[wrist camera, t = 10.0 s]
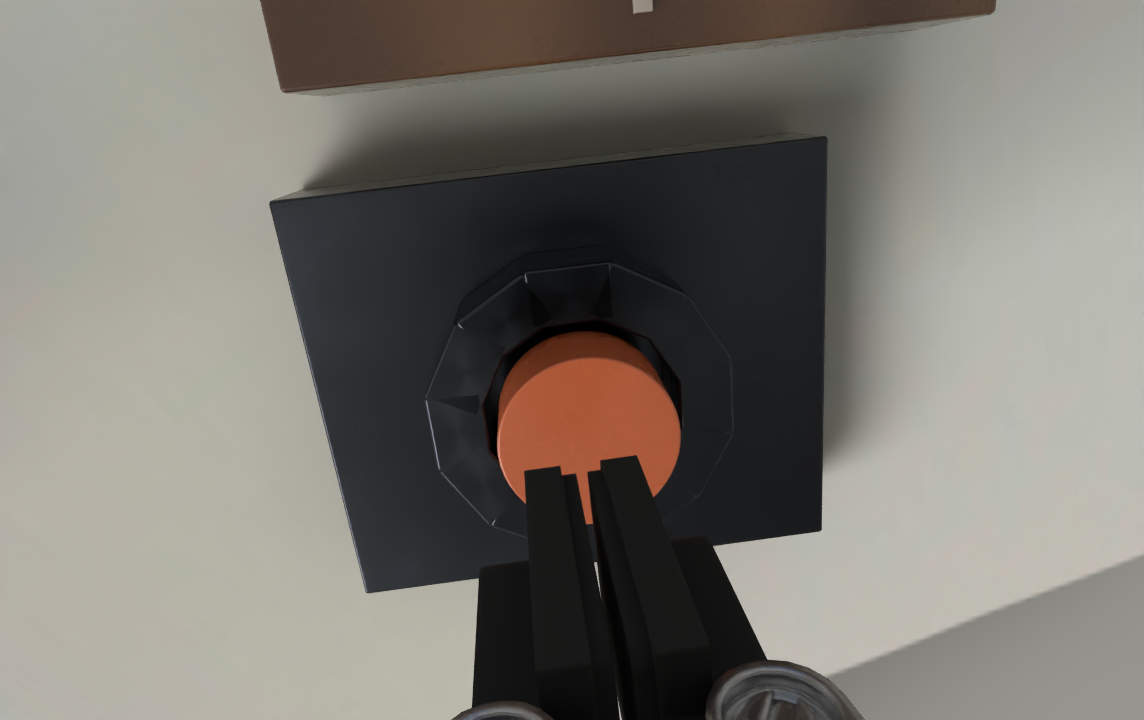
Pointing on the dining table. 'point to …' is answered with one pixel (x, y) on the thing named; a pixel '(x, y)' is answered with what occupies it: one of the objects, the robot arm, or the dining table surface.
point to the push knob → (585, 412)
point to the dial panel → (552, 34)
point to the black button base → (555, 306)
